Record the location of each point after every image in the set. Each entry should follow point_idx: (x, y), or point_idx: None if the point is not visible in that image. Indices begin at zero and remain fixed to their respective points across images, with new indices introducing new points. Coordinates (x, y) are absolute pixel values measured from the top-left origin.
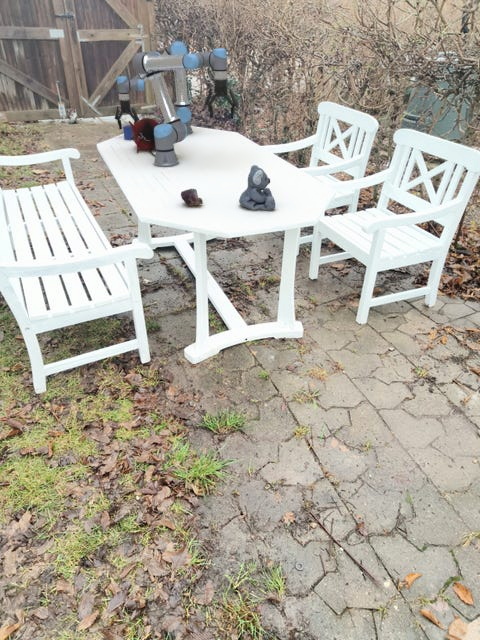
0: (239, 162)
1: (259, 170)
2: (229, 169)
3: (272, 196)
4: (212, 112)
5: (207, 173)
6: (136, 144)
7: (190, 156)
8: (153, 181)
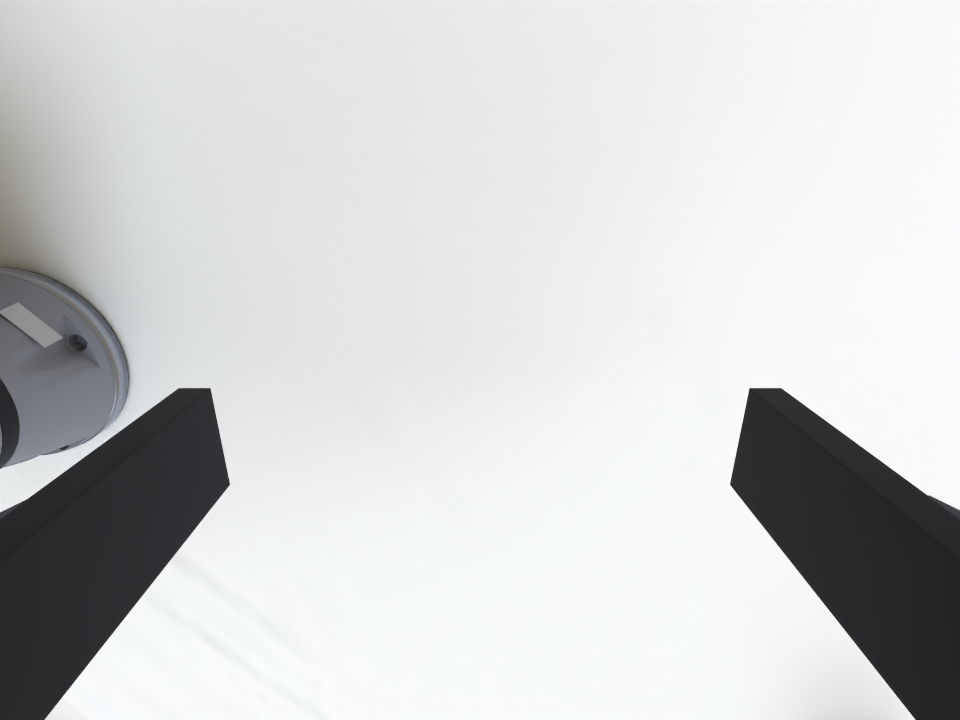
0: (598, 135)
1: None
2: (570, 360)
3: None
4: (143, 462)
5: (450, 484)
6: None
7: (56, 68)
8: (227, 675)
